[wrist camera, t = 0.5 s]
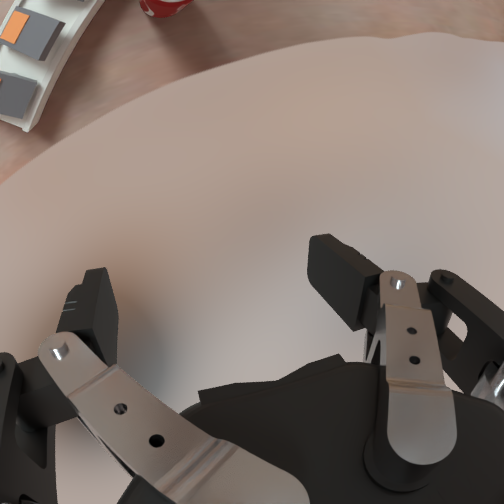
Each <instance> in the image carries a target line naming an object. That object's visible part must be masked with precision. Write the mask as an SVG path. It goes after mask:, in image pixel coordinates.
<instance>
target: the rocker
mask: <svg viewBox="0 0 504 504" xmlns="http://www.w3.org/2000/svg"><path fill="white" fill-rule="evenodd" d="M36 85H37V80H34V79H30V78H27V77H23V76H20V75H16V74H12V73H8V72H4V71H0V114H2V115H7V116H11V117H15V118H20V119H23V116H24V113H25V111H26V108H27V106H28V103H29V101H30V99H31V96H32V94H33V92H34V89H35V87H36Z"/></svg>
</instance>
